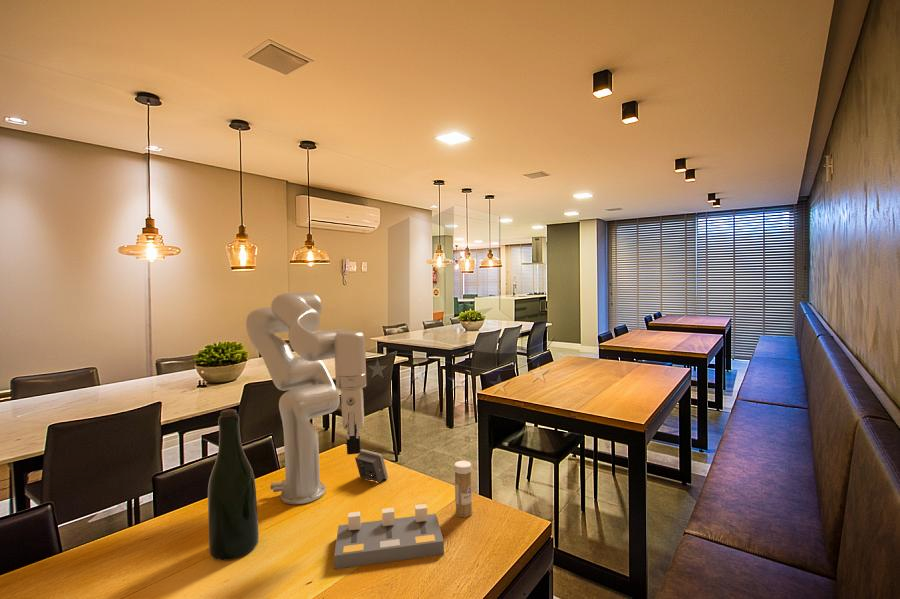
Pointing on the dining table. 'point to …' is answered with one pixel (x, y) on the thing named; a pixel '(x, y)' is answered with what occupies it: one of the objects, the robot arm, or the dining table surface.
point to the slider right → (421, 512)
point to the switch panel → (388, 542)
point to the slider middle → (388, 516)
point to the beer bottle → (231, 495)
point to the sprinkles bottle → (463, 488)
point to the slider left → (354, 520)
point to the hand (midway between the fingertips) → (353, 452)
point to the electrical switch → (371, 466)
